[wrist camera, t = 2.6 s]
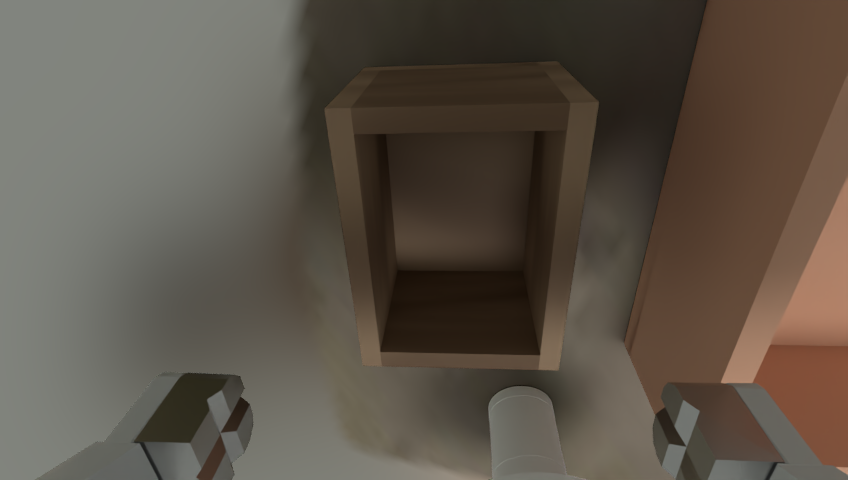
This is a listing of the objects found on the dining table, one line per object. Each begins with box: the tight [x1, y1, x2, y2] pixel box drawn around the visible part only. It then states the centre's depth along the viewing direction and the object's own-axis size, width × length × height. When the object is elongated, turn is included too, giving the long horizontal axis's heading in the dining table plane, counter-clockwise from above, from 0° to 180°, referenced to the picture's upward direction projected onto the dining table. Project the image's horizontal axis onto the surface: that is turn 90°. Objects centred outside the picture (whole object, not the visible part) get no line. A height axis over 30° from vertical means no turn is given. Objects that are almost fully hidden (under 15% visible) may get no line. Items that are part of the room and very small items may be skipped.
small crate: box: [324, 61, 599, 370], centre depth 14 cm, size 8×6×5 cm
